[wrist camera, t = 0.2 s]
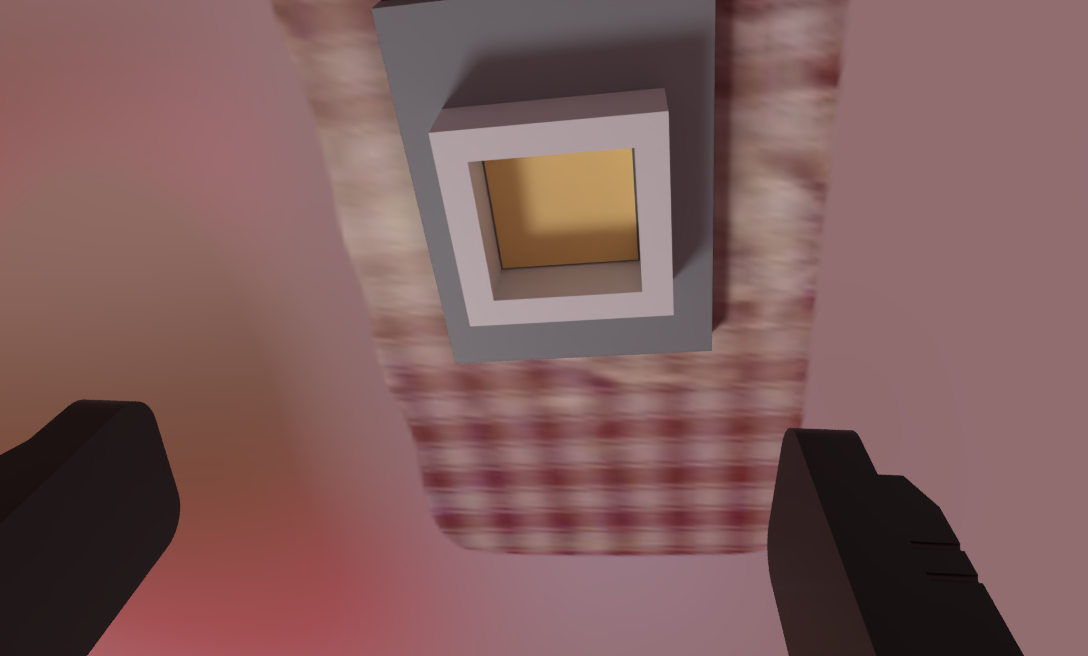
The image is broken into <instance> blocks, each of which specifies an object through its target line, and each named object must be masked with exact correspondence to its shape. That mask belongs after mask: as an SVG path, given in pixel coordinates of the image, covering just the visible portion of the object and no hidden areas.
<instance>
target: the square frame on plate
mask: <svg viewBox="0 0 1088 656" xmlns="http://www.w3.org/2000/svg"><path fill="white" fill-rule="evenodd" d="M371 10H372V14H373V18H374V22H375V27H376V31H377V35H378V39H379V43H380V48H381V52H382V56H383V60H384V64H385V69H386V73H387V77H388V81H389V85H390V90H391V94H392V98H393V102H394V106H395V111H396V115H397V119H398V123H399V127H400V132H401V136H402V140H403V144H404V149H405V153H406V157H407V161H408V165H409V170H410V174H411V178H412V182H413V186H414V191H415V195H416V199H417V203H418V207H419V212H420V216H421V220H422V224H423V228H424V233H425V237H426V241H427V245H428V249H429V254H430V258H431V262H432V266H433V271H434V275H435V279H436V283H437V287H438V292H439V296H440V300H441V304H442V308H443V313H444V317H445V321H446V325H447V329H448V334H449V338H450V342H451V346H452V350H453V355H454V359H455V363H472V362H492V361H513V360H533V359H553V358H574V357H594V356H615V355H635V354H656V353H676V352H697V351H712V281H713V185H714V89H715V0H387V1H380V2H379V3H377V4H376V5H375V6H374V7H373V8H372V9H371Z"/></svg>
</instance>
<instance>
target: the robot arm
mask: <svg viewBox="0 0 1088 656" xmlns="http://www.w3.org/2000/svg"><path fill="white" fill-rule="evenodd" d="M179 515H180V499H179V494H178V491H177V487H176V484H175V481H174V477H173V474H172V471H171V468H170V464H169V461H168V458H167V455H166V451H165V448H164V445H163V442H162V438H161V435H160V432H159V429H158V425H157V422H156V419H155V416H154V414H153V412H152V410H151V409H150V408H149V407H148V406H147V405H146V404H145V403H142V402H136V401H134V402H133V401H110V400H78V401H76V402H74V403H72V404H71V405H69V406H68V407H67V408H66V409H64V410H63V411H62V412H61V413H60V414H59V415H57V416H56V417H55V418H54V419H53V420H52V421H50V422H49V423H48V424H47V425H46V426H44V427H43V428H42V429H41V430H40V431H39V432H37V433H36V434H35V435H34V436H33V437H32V438H30V439H29V440H27V441H26V442H24V443H22V444H20V445H18V446H16V447H15V448H13V449H11V450H9V451H7V452H5V453H3V454H2V455H0V656H87V655H88V654H89V652H90V651H91V650H92V648H93V647H94V646H95V644H96V643H97V642H98V640H99V639H100V638H101V636H102V635H103V633H104V632H105V631H106V629H107V628H108V627H109V625H110V624H111V623H112V621H113V620H114V619H115V617H116V616H117V615H118V613H119V612H120V610H121V609H122V608H123V606H124V605H125V604H126V602H127V601H128V600H129V598H130V597H131V596H132V594H133V593H134V592H135V590H136V589H137V588H138V586H139V585H140V583H141V582H142V581H143V579H144V578H145V577H146V575H147V574H148V572H149V571H150V570H151V568H152V567H153V566H154V565H155V563H156V562H157V561H158V559H159V558H160V556H161V555H162V554H163V552H164V551H165V550H166V548H167V547H168V545H169V544H170V542H171V541H172V538H173V537H174V534H175V532H176V529H177V525H178V521H179ZM767 550H768V565H769V573H770V579H771V583H772V587H773V592H774V596H775V600H776V604H777V608H778V612H779V616H780V621H781V625H782V629H783V633H784V637H785V641H786V645H787V650H788V654H789V656H1024V655H1023V653H1022V651H1021V650H1020V648H1019V646H1018V644H1017V643H1016V641H1015V639H1014V638H1013V636H1012V634H1011V632H1010V631H1009V629H1008V627H1007V625H1006V623H1005V622H1004V620H1003V618H1002V616H1001V615H1000V613H999V611H998V609H997V608H996V606H995V604H994V602H993V600H992V599H991V597H990V595H989V594H988V592H987V590H986V588H985V586H984V585H983V584H982V583H979V582H978V574H977V572H976V571H975V569H974V567H973V565H972V564H971V562H970V560H969V558H968V557H967V555H966V553H965V551H961V550H960V543H959V541H958V539H957V537H956V535H955V534H954V532H953V530H952V528H951V527H950V525H949V523H948V521H947V520H946V518H945V516H944V514H943V513H942V511H941V509H940V507H939V506H937V505H936V504H935V503H934V502H933V501H932V500H931V499H929V498H928V497H927V496H926V495H925V494H923V492H921V491H920V490H919V489H918V488H917V487H916V486H914V485H913V484H912V483H911V482H910V481H909V480H908V479H906V478H905V477H904V476H899V475H898V476H897V475H878V474H877V472H876V470H875V468H874V466H873V464H872V462H871V460H870V458H869V456H868V453H867V452H866V450H865V448H864V446H863V443H862V441H861V439H860V437H859V436H858V434H857V433H856V432H854V431H853V430H827V429H801V428H789V429H787V431H786V432H785V435H784V438H783V442H782V447H781V453H780V459H779V465H778V471H777V477H776V483H775V489H774V496H773V502H772V508H771V514H770V520H769V527H768V540H767Z"/></svg>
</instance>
